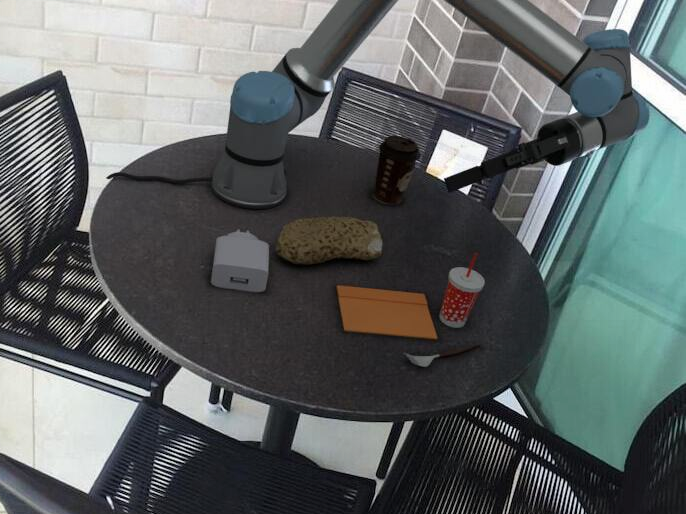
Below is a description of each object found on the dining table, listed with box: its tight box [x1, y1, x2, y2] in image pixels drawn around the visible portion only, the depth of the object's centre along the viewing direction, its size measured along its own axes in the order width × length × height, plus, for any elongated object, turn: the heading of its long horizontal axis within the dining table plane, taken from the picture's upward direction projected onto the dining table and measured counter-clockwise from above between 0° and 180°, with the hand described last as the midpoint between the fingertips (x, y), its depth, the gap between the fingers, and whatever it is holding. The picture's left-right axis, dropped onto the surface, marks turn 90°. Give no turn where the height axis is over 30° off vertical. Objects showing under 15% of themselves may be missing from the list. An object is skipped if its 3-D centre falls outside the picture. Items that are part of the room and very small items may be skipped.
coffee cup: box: [371, 135, 422, 206], centre depth 170 cm, size 9×8×13 cm
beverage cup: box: [439, 251, 486, 329], centre depth 137 cm, size 6×6×14 cm
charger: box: [210, 228, 270, 293], centre depth 142 cm, size 5×9×15 cm
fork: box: [403, 343, 482, 368], centre depth 132 cm, size 3×16×2 cm, turn 120°
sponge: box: [275, 215, 383, 265], centre depth 149 cm, size 13×8×20 cm
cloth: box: [336, 284, 438, 340], centre depth 139 cm, size 16×12×1 cm
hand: (464, 178), depth 135 cm, fingers open, 13 cm apart
